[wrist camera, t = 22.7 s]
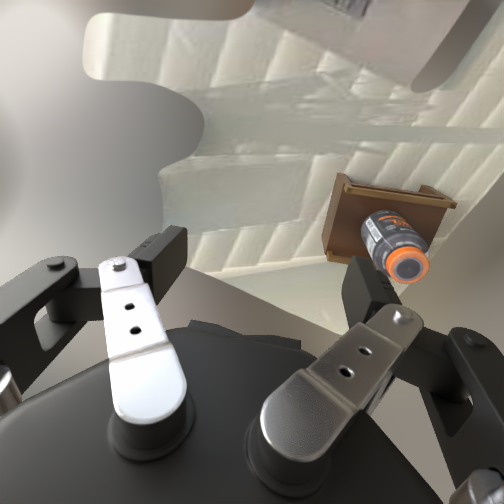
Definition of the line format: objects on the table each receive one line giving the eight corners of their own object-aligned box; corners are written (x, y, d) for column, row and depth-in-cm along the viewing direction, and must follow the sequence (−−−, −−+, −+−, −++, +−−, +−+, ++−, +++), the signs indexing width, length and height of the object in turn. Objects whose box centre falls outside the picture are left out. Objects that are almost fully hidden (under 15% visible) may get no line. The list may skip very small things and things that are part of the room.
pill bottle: (413, 216, 38) (453, 254, 28) (391, 252, 41) (421, 299, 31) (371, 203, 38) (397, 236, 28) (352, 240, 41) (369, 282, 31)
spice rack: (337, 172, 44) (345, 186, 36) (429, 185, 43) (459, 203, 35) (321, 236, 49) (325, 260, 41) (403, 249, 48) (424, 277, 40)
